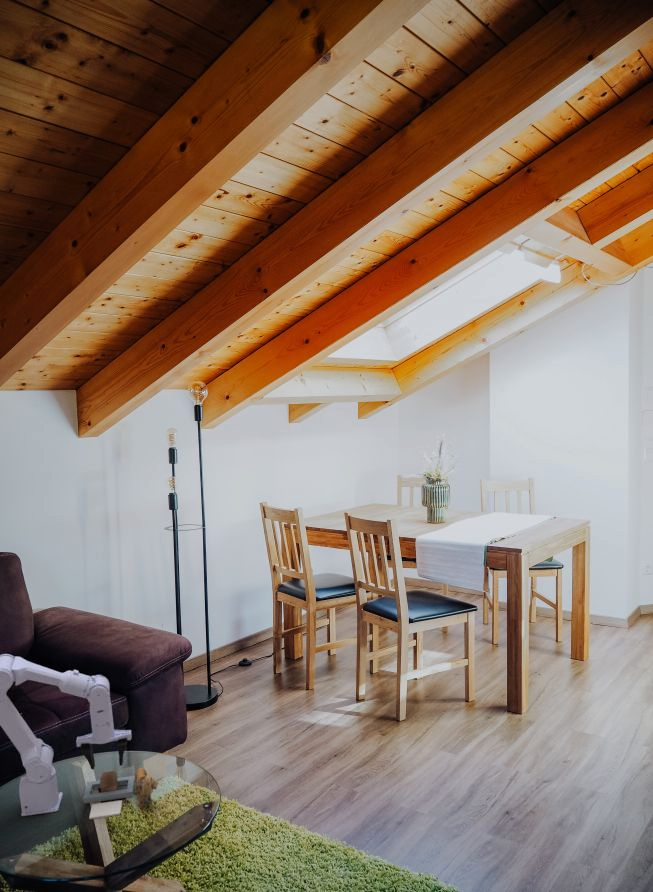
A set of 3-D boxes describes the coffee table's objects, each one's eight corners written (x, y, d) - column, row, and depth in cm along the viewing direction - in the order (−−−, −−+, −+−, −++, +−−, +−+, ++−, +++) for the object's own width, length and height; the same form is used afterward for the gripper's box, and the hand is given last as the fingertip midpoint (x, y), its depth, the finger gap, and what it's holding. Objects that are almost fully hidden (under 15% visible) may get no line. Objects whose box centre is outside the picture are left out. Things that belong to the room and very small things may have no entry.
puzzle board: (83, 803, 209) (83, 798, 209) (87, 786, 216) (87, 781, 216) (132, 796, 211) (132, 791, 211) (135, 780, 218) (134, 775, 218)
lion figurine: (162, 807, 206) (159, 776, 204) (142, 814, 203) (139, 783, 202) (145, 779, 218) (142, 751, 217) (126, 786, 216) (123, 757, 214)
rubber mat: (89, 819, 202) (89, 817, 202) (92, 806, 208) (92, 804, 208) (120, 814, 203) (120, 813, 203) (122, 801, 209) (122, 800, 209)
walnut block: (101, 797, 211) (99, 781, 211) (103, 788, 215) (101, 772, 214) (116, 795, 212) (114, 779, 211) (118, 786, 216) (116, 770, 215)
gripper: (130, 709, 215) (135, 753, 217) (77, 716, 213) (82, 760, 215) (127, 723, 208) (132, 768, 210) (73, 730, 206) (78, 775, 208)
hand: (107, 765), depth 212 cm, fingers open, 7 cm apart
